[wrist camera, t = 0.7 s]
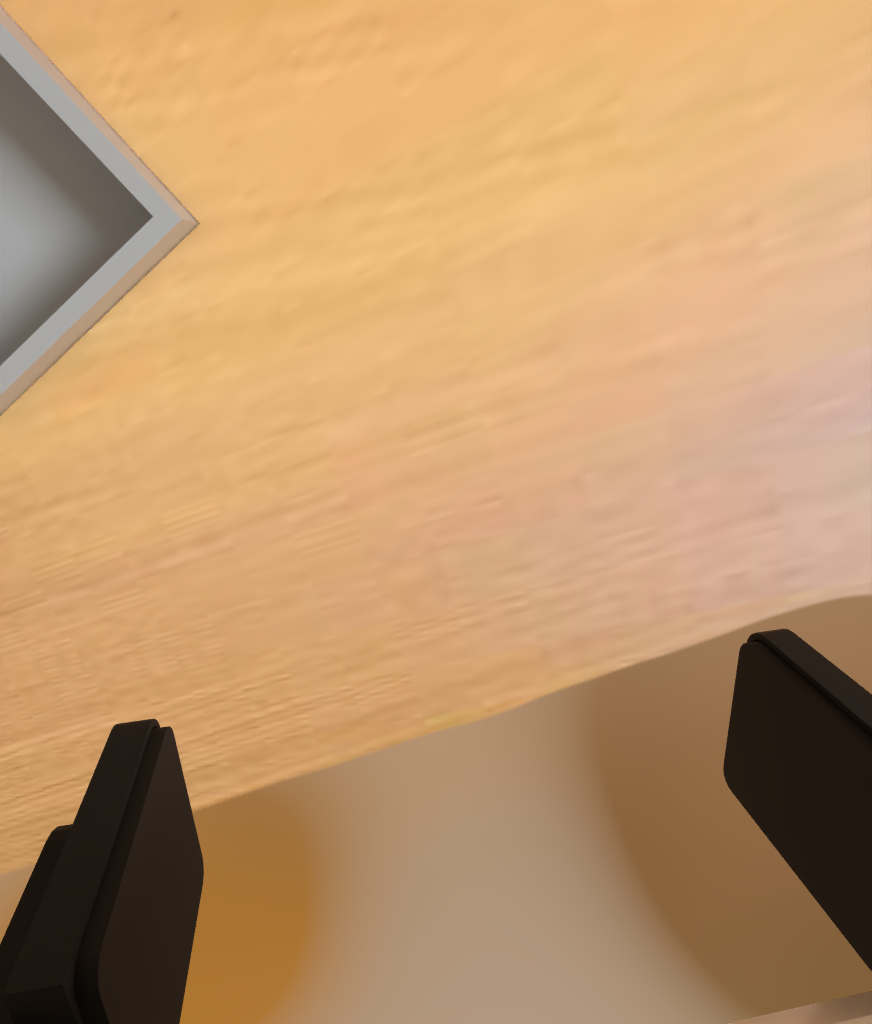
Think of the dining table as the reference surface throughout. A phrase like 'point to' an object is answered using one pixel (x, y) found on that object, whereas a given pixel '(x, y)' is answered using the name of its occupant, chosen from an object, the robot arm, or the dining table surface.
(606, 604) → the dining table surface
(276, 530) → the dining table surface
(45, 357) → the large crate
